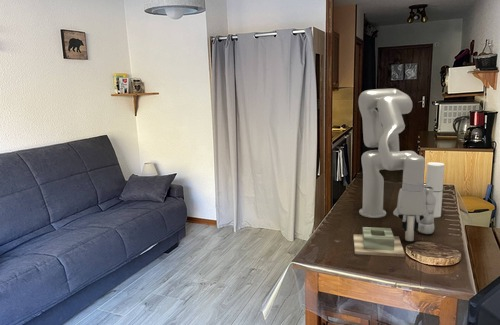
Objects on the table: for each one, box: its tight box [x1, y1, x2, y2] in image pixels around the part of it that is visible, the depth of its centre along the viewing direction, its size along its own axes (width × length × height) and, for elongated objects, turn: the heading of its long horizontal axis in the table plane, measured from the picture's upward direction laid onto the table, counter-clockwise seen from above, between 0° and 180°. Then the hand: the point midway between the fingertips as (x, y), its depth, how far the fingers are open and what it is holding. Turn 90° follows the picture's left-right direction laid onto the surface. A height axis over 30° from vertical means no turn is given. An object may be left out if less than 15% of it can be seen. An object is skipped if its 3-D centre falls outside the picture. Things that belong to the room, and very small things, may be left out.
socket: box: [352, 226, 406, 258], centre depth 151 cm, size 16×18×6 cm
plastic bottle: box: [417, 187, 436, 235], centre depth 159 cm, size 6×7×20 cm
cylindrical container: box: [425, 161, 445, 219], centre depth 178 cm, size 7×7×25 cm
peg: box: [404, 215, 415, 242], centre depth 152 cm, size 3×3×12 cm
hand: (409, 229), depth 152 cm, fingers closed on peg, 3 cm apart
